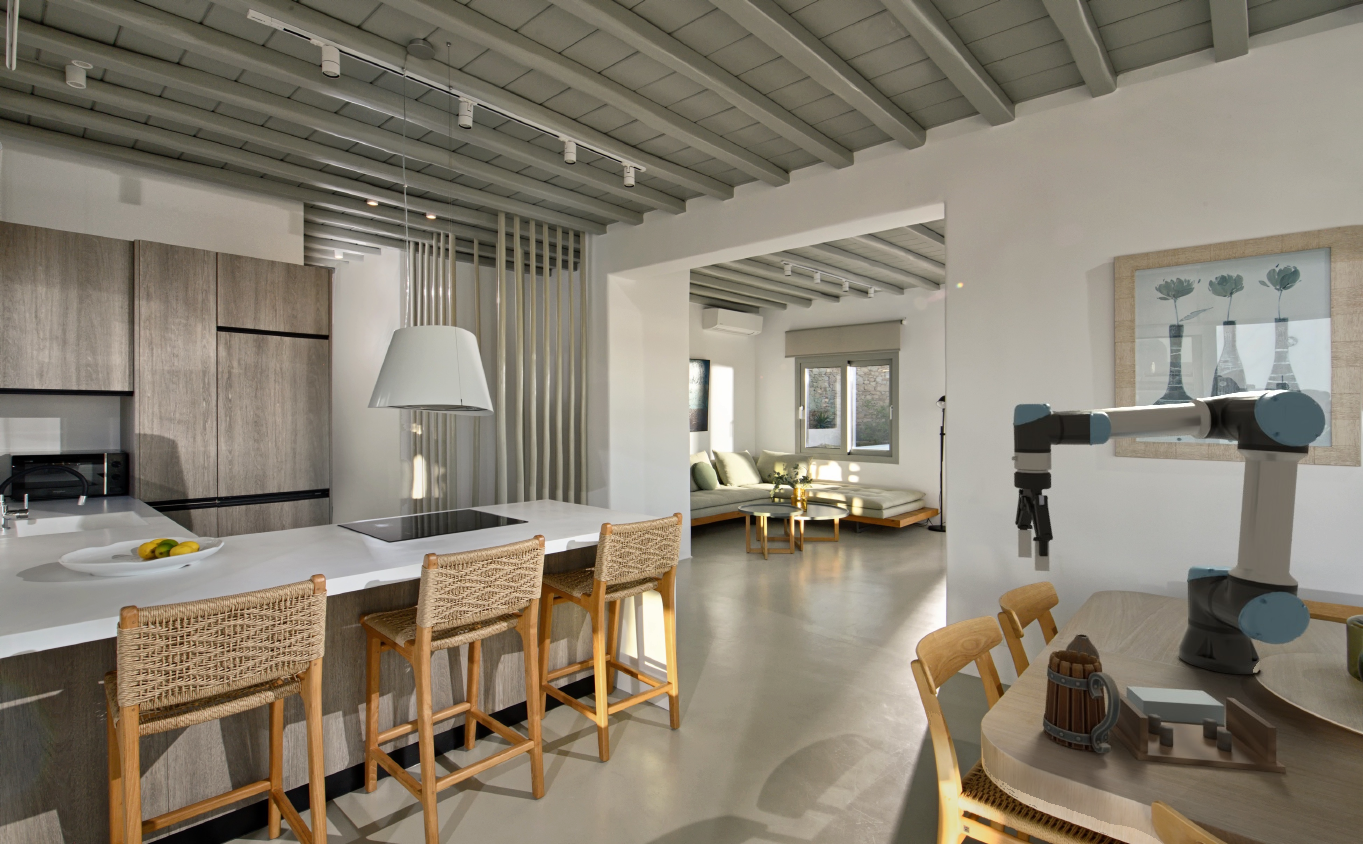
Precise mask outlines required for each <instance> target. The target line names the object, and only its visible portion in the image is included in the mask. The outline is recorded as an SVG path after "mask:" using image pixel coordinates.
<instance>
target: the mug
mask: <svg viewBox="0 0 1363 844" xmlns="http://www.w3.org/2000/svg"><path fill="white" fill-rule="evenodd" d="M1046 676H1047V682H1046V683H1047V685H1046V695H1045V706H1044V707H1045V709H1044V713H1043V718H1042V719H1043V720H1042V726H1043V732H1044V734H1046V735H1045V736H1047V737H1048V738H1049V739H1050V740H1052V741H1053V742H1054V743H1056V744H1059V745H1061V746H1063V747H1066V748H1068V749H1069V748H1070V749H1074V750H1077V751H1085V752H1096V753H1098V754H1107V753H1108V754H1109V753H1110V752H1111V749H1112V748H1111V747H1112V746H1111V745H1109V740H1110V735H1109V730H1110V731H1111V728H1112V727H1113V726H1114V725H1115V724H1116V722H1117V720H1118V717H1119V712H1120V695H1119V691H1120V690H1119V689H1118V685H1117V683H1116V681H1115V680H1114V679H1113V677H1112V676H1111V675H1110V674H1108V673H1107V672H1104V671H1103V666H1102V662H1101V659H1100V660H1098V659H1097V658H1096V657H1094V656H1090V657H1089V655H1088V654H1086V653H1082V652H1081V653H1080V654H1078V652H1077V651H1071V650H1070V651H1068V653H1067V652H1066V649H1065V650H1064V649H1059V650H1058V651H1057V650H1054V651H1052V652H1051V653H1050V655H1049V657H1048V664H1047V671H1046ZM1118 690H1119V691H1118ZM1105 691H1106V695H1107V707H1106V701H1105V699H1106V698H1105Z"/></svg>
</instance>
